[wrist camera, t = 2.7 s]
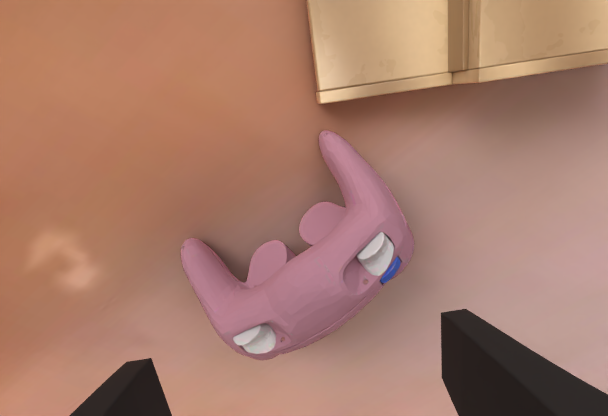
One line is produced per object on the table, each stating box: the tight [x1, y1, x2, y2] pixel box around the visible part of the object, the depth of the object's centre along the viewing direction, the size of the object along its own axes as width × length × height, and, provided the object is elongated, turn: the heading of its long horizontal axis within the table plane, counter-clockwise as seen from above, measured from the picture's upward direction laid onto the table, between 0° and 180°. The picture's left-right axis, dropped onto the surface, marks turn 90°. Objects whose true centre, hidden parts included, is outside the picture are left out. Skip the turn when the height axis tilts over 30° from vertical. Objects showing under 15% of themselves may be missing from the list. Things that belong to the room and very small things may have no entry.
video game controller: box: [181, 130, 414, 360], centre depth 15 cm, size 10×5×7 cm, turn 128°
